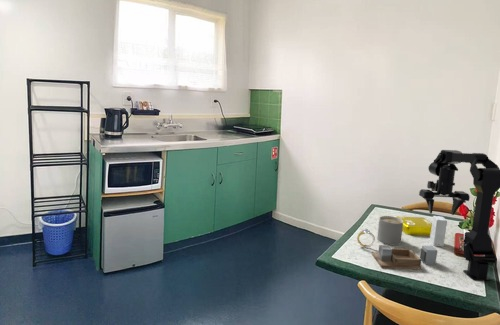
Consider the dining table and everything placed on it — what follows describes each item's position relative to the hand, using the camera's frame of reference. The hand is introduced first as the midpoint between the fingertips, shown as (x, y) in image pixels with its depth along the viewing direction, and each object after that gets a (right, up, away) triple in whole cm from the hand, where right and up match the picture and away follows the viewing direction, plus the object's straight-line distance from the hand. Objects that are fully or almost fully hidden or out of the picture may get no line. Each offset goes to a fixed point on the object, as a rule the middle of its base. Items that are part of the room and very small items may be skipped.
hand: (441, 214), depth 153 cm
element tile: (-2, -11, +21) cm, 24 cm away
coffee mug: (-20, -13, +7) cm, 25 cm away
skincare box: (0, -14, +4) cm, 15 cm away
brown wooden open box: (-26, -17, -15) cm, 35 cm away
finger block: (-13, -17, -14) cm, 26 cm away
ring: (-34, -14, -2) cm, 37 cm away
